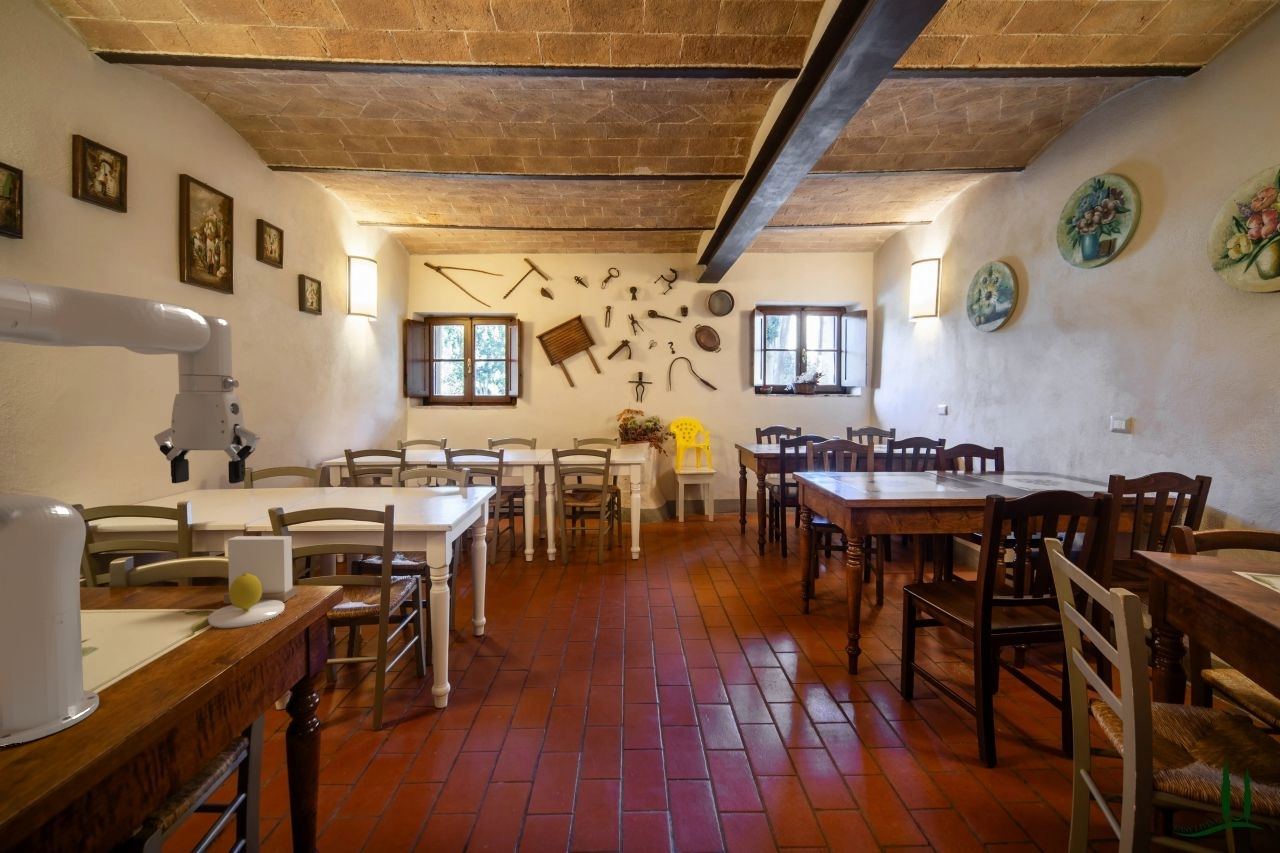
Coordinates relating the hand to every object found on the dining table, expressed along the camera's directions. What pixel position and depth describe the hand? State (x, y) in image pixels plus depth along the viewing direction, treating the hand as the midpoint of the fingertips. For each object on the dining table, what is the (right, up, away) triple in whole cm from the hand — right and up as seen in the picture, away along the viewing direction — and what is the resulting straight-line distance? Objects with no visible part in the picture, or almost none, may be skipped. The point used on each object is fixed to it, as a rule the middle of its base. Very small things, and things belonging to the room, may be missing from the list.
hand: (208, 482), depth 99 cm
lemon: (-5, -29, +16) cm, 33 cm away
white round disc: (-5, -30, +17) cm, 34 cm away
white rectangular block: (-8, -29, +26) cm, 40 cm away
